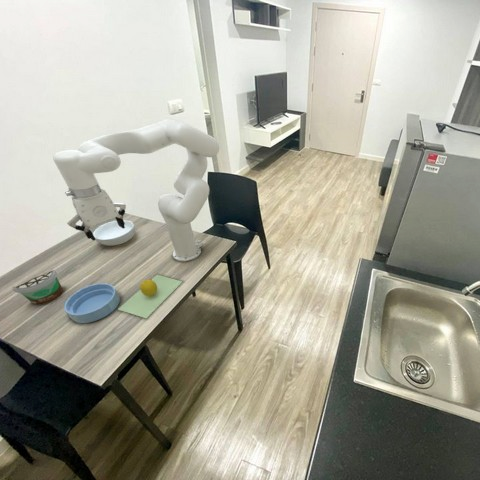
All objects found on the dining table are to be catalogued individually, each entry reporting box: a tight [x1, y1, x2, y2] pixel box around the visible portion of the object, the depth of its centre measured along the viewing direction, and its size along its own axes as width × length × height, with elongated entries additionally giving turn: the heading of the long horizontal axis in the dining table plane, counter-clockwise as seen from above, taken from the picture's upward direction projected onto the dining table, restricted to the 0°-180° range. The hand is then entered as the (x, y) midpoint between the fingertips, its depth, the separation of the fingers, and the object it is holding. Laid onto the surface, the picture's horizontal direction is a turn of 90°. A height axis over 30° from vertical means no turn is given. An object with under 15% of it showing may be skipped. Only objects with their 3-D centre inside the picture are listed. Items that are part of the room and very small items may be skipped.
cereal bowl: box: [92, 219, 136, 247], centre depth 130 cm, size 17×17×7 cm
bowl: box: [63, 282, 121, 324], centre depth 99 cm, size 15×15×5 cm
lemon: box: [139, 279, 157, 296], centre depth 104 cm, size 6×6×8 cm
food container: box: [12, 269, 64, 306], centre depth 99 cm, size 12×6×10 cm, turn 148°
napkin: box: [117, 274, 183, 319], centre depth 106 cm, size 20×13×1 cm, turn 165°
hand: (108, 232), depth 95 cm, fingers open, 9 cm apart
